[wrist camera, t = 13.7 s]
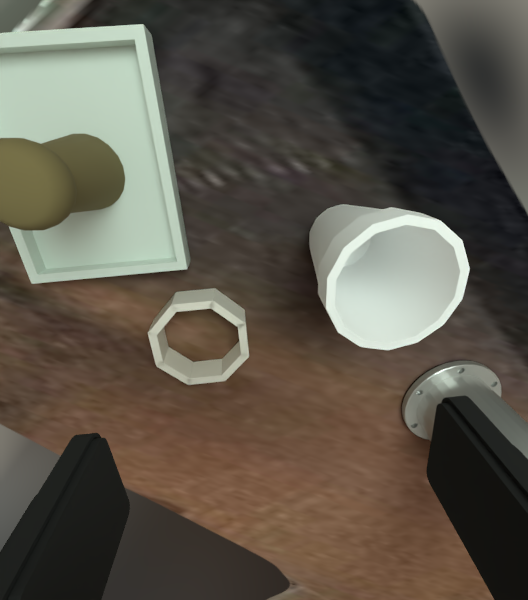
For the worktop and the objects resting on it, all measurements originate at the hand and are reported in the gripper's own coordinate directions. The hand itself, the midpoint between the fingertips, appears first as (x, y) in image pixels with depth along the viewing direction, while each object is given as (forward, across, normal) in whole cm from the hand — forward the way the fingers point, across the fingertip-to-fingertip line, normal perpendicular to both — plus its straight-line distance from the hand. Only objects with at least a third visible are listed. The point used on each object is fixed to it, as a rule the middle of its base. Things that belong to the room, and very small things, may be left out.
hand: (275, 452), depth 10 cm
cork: (+24, +13, -8) cm, 28 cm away
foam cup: (+26, -8, 0) cm, 27 cm away
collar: (+26, +7, +9) cm, 28 cm away
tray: (+25, +13, -8) cm, 29 cm away
